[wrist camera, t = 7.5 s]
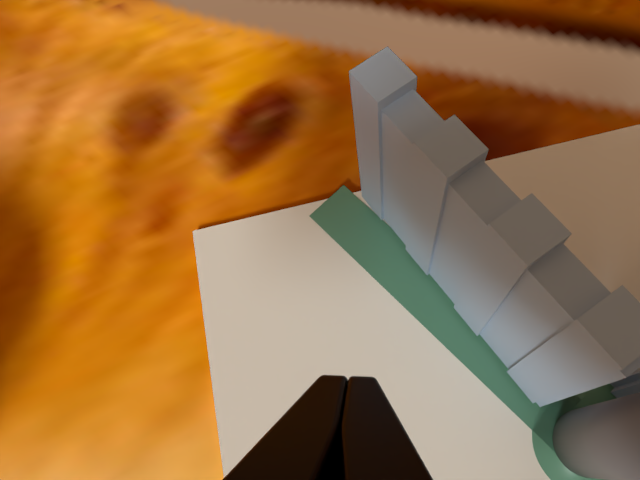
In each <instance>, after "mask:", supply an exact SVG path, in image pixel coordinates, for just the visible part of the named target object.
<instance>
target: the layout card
mask: <svg viewBox="0 0 640 480" xmlns="http://www.w3.org/2000/svg"><path fill="white" fill-rule="evenodd" d="M485 163H486V164H487V165H488V166H489V167H490V168H491V169H492V171H493V172H494V173H495V174H496V175H497V176H498V177H499V178H500V179H501V180H502V181H503V182H504V183H505V184H506V185H507V186H508V187H509V188H510V189H511V190H512V191H513V192H514V193H515V194H516V195H517V196H518V197H519V198H520V199H521V200H523V199H524V198H526V197H527V196H528V195H530V194H531V193H532V194H533V195H534V196H535V197H536V198H537V199H538V200H539V201H540V202H541V203H542V204H543V205H544V206H545V207H546V208H547V209H548V210H549V211H550V212H551V213H552V214H553V215H554V216H555V217H556V218H557V219H558V220H559V221H560V222H561V223H562V224H563V225H564V226H565V227H566V228H567V229H568V230H569V231H570V232H571V233H572V234H571V235H570V236H569V238H568V239H567V240H566V241H565V243H564V245H565V246H566V247H567V248H568V249H569V250H570V251H571V252H572V253H573V254H574V255H575V256H576V257H577V258H578V259H579V260H580V261H581V262H582V263H583V265H584V266H585V267H586V268H587V269H588V270H589V271H590V272H591V273H592V274H593V275H594V276H595V277H596V278H597V279H598V280H599V281H600V282H601V283H602V284H603V285H604V286H605V287H606V288H607V289H608V290H609V291H610V292H611V293H612V292H613V291H615V290H616V289H618V288H619V287H620V286H622V285H623V286H624V287H625V288H626V289H627V290H628V291H629V292H630V293H631V294H632V295H633V296H634V297H635V298H636V299H637V300H638V301H639V302H640V124H638V125H634V126H630V127H626V128H622V129H618V130H613V131H609V132H605V133H601V134H597V135H592V136H588V137H584V138H580V139H576V140H571V141H567V142H563V143H559V144H555V145H551V146H546V147H542V148H538V149H534V150H530V151H525V152H521V153H517V154H513V155H509V156H504V157H500V158H496V159H492V160H488V161H485ZM193 238H194V246H195V254H196V262H197V270H198V277H199V285H200V293H201V301H202V309H203V317H204V325H205V332H206V340H207V348H208V356H209V364H210V372H211V380H212V387H213V395H214V403H215V411H216V419H217V427H218V435H219V443H220V450H221V458H222V466H223V474H224V478H225V476H226V475H227V474H228V473H229V472H230V471H231V470H232V469H233V468H234V467H235V466H236V465H237V464H238V463H239V462H240V460H241V459H242V458H243V457H244V456H245V455H246V454H247V453H248V452H249V451H250V450H251V449H252V448H253V447H254V446H255V445H256V443H257V442H258V441H259V440H260V439H261V438H262V437H263V436H264V435H265V434H266V433H267V432H268V431H269V430H270V429H271V427H272V426H273V425H274V424H275V423H276V422H277V421H278V420H279V419H280V418H281V417H282V416H283V415H284V414H285V413H286V412H287V410H288V409H289V408H290V407H291V406H292V405H293V404H294V403H295V402H296V401H297V400H298V399H299V398H300V397H301V396H302V395H303V393H304V392H305V391H306V390H307V389H308V388H309V387H310V386H311V385H312V384H313V383H314V382H315V381H316V380H317V379H318V377H320V376H321V375H342V376H345V377H347V379H349V378H350V377H351V376H367V377H374V378H376V380H377V381H378V383H379V384H380V386H381V388H382V390H383V392H384V393H385V395H386V397H387V399H388V400H389V402H390V404H391V406H392V408H393V409H394V411H395V413H396V415H397V416H398V418H399V420H400V422H401V423H402V425H403V427H404V429H405V431H406V432H407V434H408V436H409V438H410V439H411V441H412V443H413V445H414V446H415V448H416V450H417V452H418V454H419V455H420V457H421V459H422V461H423V462H424V464H425V466H426V468H427V470H428V471H429V473H430V475H431V477H432V478H433V480H604V479H594V478H586V477H582V476H579V475H577V474H575V473H573V472H572V471H570V470H569V469H568V468H566V467H565V466H564V465H563V464H562V462H561V461H560V460H559V458H558V456H557V455H556V452H555V450H554V446H553V438H552V436H553V430H554V427H555V424H556V422H557V421H558V420H559V418H560V417H561V416H562V415H564V414H565V413H566V412H569V411H571V410H574V409H578V408H582V407H586V406H589V405H593V404H597V403H601V402H605V401H608V400H612V399H616V397H615V396H614V395H613V394H612V393H611V391H612V390H613V389H614V387H613V386H612V385H611V384H610V383H609V384H606V385H603V386H601V387H598V388H595V389H592V390H589V391H586V392H583V393H580V394H577V395H574V396H571V397H568V398H565V399H562V400H559V401H556V402H553V403H550V404H547V405H544V406H541V407H539V405H538V404H537V403H536V402H535V403H532V402H531V401H530V399H529V398H528V397H527V396H526V395H525V393H524V392H523V391H522V390H521V389H520V387H519V386H518V385H517V384H516V383H515V381H514V380H513V379H512V378H511V376H510V375H509V374H508V373H507V372H506V371H508V370H509V369H508V368H507V367H506V366H505V364H504V363H503V362H502V361H501V360H500V358H499V357H498V356H497V355H496V354H495V352H494V351H493V350H492V349H491V348H490V346H489V345H488V344H487V343H486V342H485V340H484V339H483V338H482V337H481V335H480V334H479V335H478V336H477V335H476V334H475V333H474V332H473V330H472V329H471V328H470V327H469V326H468V324H467V323H466V322H465V321H464V320H463V318H462V317H461V316H460V315H459V314H458V312H457V311H456V310H455V309H454V305H455V304H454V303H453V302H452V300H451V299H450V298H449V297H448V296H447V294H446V293H445V292H444V291H443V290H442V288H441V287H440V286H439V285H438V284H437V282H436V281H435V280H434V279H433V278H432V276H431V275H430V274H428V275H426V274H425V272H424V271H423V270H422V269H421V268H420V266H419V265H418V264H417V263H416V261H415V260H414V259H413V258H412V257H411V255H410V254H409V253H408V252H407V251H406V245H405V244H404V243H403V241H402V240H401V239H400V238H399V237H398V235H397V234H396V233H395V232H394V231H393V229H392V228H391V227H390V226H389V225H388V223H387V222H386V221H385V220H384V219H383V220H381V219H380V218H379V217H378V215H377V214H376V213H375V212H374V211H373V209H372V208H371V207H370V206H369V205H368V203H367V202H366V201H365V200H364V198H363V197H362V192H361V191H358V192H354V193H352V192H351V191H350V190H349V189H348V188H347V187H346V186H344V185H343V186H342V187H341V188H340V189H339V190H337V191H336V192H335V193H334V194H333V195H332V196H331V197H330V198H328V199H324V200H320V201H316V202H312V203H308V204H303V205H299V206H295V207H291V208H287V209H282V210H278V211H274V212H270V213H266V214H261V215H257V216H253V217H249V218H245V219H241V220H236V221H232V222H228V223H224V224H220V225H215V226H211V227H207V228H203V229H199V230H194V231H193Z"/></svg>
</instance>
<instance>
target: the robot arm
mask: <svg viewBox="0 0 640 480" xmlns="http://www.w3.org/2000/svg"><path fill="white" fill-rule="evenodd" d="M223 480H433V478H432V477H431V475H430V473H429V471H428V470H427V468H426V466H425V464H424V462H423V461H422V459H421V457H420V455H419V454H418V452H417V450H416V448H415V446H414V445H413V443H412V441H411V439H410V438H409V436H408V434H407V432H406V431H405V429H404V427H403V425H402V423H401V422H400V420H399V418H398V416H397V415H396V413H395V411H394V409H393V408H392V406H391V404H390V402H389V400H388V399H387V397H386V395H385V393H384V392H383V390H382V388H381V386H380V384H379V383H378V381H377V380H376V378H374V377H367V376H351V377H350V378H349V379H347V377H345V376H342V375H321V376H320V377H318V379H317V380H316V381H315V382H314V383H313V384H312V385H311V386H310V387H309V388H308V389H307V390H306V391H305V392H304V393H303V395H302V396H301V397H300V398H299V399H298V400H297V401H296V402H295V403H294V404H293V405H292V406H291V407H290V408H289V409H288V410H287V412H286V413H285V414H284V415H283V416H282V417H281V418H280V419H279V420H278V421H277V422H276V423H275V424H274V425H273V426H272V427H271V429H270V430H269V431H268V432H267V433H266V434H265V435H264V436H263V437H262V438H261V439H260V440H259V441H258V442H257V443H256V445H255V446H254V447H253V448H252V449H251V450H250V451H249V452H248V453H247V454H246V455H245V456H244V457H243V458H242V459H241V460H240V462H239V463H238V464H237V465H236V466H235V467H234V468H233V469H232V470H231V471H230V472H229V473H228V474H227V475H226V476H225V478H224V479H223Z"/></svg>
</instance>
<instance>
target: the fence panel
mask: <svg viewBox="0 0 640 480" xmlns="http://www.w3.org/2000/svg"><path fill="white" fill-rule="evenodd" d="M349 78H350V87H351V97H352V106H353V116H354V125H355V135H356V144H357V154H358V163H359V173H360V182H361V192H362V197H363V198H364V200H365V201H366V202H367V203H368V205H369V206H370V207H371V208H372V209H373V211H374V212H375V213H376V214H377V215H378V217H379V218H380V219H381V220H383V219H384V220H385V221H386V222H387V223H388V225H389V226H390V227H391V228H392V229H393V231H394V232H395V233H396V234H397V235H398V237H399V238H400V239H401V240H402V241H403V243H404V244H405V245H406V251H407V252H408V253H409V254H410V255H411V257H412V258H413V259H414V260H415V261H416V263H417V264H418V265H419V266H420V268H421V269H422V270H423V271H424V272H425V274H426V275H428V274H430V275H431V276H432V278H433V279H434V280H435V281H436V282H437V284H438V285H439V286H440V287H441V288H442V290H443V291H444V292H445V293H446V294H447V296H448V297H449V298H450V299H451V300H452V302H453V303H454V304H455V305H454V309H455V310H456V311H457V312H458V314H459V315H460V316H461V317H462V318H463V320H464V321H465V322H466V323H467V324H468V326H469V327H470V328H471V329H472V330H473V332H474V333H475V334H476V335H477V336H478V335H479V334H480V335H481V337H482V338H483V339H484V340H485V342H486V343H487V344H488V345H489V346H490V348H491V349H492V350H493V351H494V352H495V354H496V355H497V356H498V357H499V358H500V360H501V361H502V362H503V363H504V364H505V366H506V367H507V368H508V369H509V370H508V371H506V372H507V373H508V374H509V375H510V376H511V378H512V379H513V380H514V381H515V383H516V384H517V385H518V386H519V387H520V389H521V390H522V391H523V392H524V393H525V395H526V396H527V397H528V398H529V399H530V401H531V402H532V403H535V402H536V403H537V404H538V405H539V407H541V406H544V405H547V404H550V403H553V402H556V401H559V400H562V399H565V398H568V397H571V396H574V395H577V394H580V393H583V392H586V391H589V390H592V389H595V388H598V387H601V386H603V385H606V384H609V383H612V382H615V381H618V380H621V379H624V378H627V377H628V376H629V375H631V374H632V373H633V372H634V371H636V370H637V369H638V368H639V367H640V302H639V301H638V300H637V299H636V298H635V297H634V296H633V295H632V294H631V293H630V292H629V291H628V290H627V289H626V288H625V287H624V286H623V285H622V286H620V287H619V288H618V289H616V290H615V291H613V292H612V293H611V292H610V291H609V290H608V289H607V288H606V287H605V286H604V285H603V284H602V283H601V282H600V281H599V280H598V279H597V278H596V277H595V276H594V275H593V274H592V273H591V272H590V271H589V270H588V269H587V268H586V267H585V266H584V265H583V263H582V262H581V261H580V260H579V259H578V258H577V257H576V256H575V255H574V254H573V253H572V252H571V251H570V250H569V249H568V248H567V247H566V246H565V245H564V243H565V241H566V240H567V239H568V238H569V236H570V235H571V234H572V233H571V232H570V231H569V230H568V229H567V228H566V227H565V226H564V225H563V224H562V223H561V222H560V221H559V220H558V219H557V218H556V217H555V216H554V215H553V214H552V213H551V212H550V211H549V210H548V209H547V208H546V207H545V206H544V205H543V204H542V203H541V202H540V201H539V200H538V199H537V198H536V197H535V196H534V195H533V194H532V193H531V194H530V195H528V196H527V197H526V198H524V199H523V200H521V199H520V198H519V197H518V196H517V195H516V194H515V193H514V192H513V191H512V190H511V189H510V188H509V187H508V186H507V185H506V184H505V183H504V182H503V181H502V180H501V179H500V178H499V177H498V176H497V175H496V174H495V173H494V172H493V171H492V169H491V168H490V167H489V166H488V165H487V164H486V163H485V159H486V156H487V153H488V150H489V149H488V148H487V147H486V146H485V145H484V144H483V143H482V142H481V141H480V140H479V139H478V138H477V137H476V136H475V135H474V134H473V133H472V132H471V131H470V130H469V129H468V128H467V127H466V126H465V125H464V124H463V122H462V121H461V120H460V119H459V118H458V117H457V116H456V115H455V114H454V115H453V116H451V117H450V118H448V119H447V120H445V121H444V120H443V119H442V118H441V117H440V116H439V115H438V114H437V113H436V112H435V111H434V110H433V109H432V108H431V106H430V105H429V104H428V103H427V102H426V101H425V100H424V99H423V98H422V97H421V96H420V95H419V94H418V93H417V92H416V86H417V76H416V75H415V74H414V73H413V72H412V71H411V70H410V69H409V68H408V67H407V66H406V65H405V64H404V63H403V62H402V61H401V59H400V58H399V57H398V56H397V55H396V54H395V53H394V52H393V51H392V50H391V49H390V48H389V47H388V46H387V47H385V48H384V49H382V50H381V51H379V52H378V53H376V54H375V55H373V56H372V57H370V58H368V59H367V60H365V61H364V62H362V63H361V64H359V65H358V66H356V67H355V68H353V69H351V70H350V71H349Z"/></svg>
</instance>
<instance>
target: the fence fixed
mask: <svg viewBox="0 0 640 480" xmlns="http://www.w3.org/2000/svg"><path fill="white" fill-rule="evenodd" d="M610 384H611V385H612V386H613V387H614V389H613V390H612V391H611V393H612V394H613V395H614V396H615V397H616V399H612V400H608V401H605V402H601V403H597V404H593V405H589V406H586V407H582V408H578V409H574V410H571V411H569V412H566V413H565V414H564V415H562V416H561V417H560V418H559V420H558V421H557V422H556V424H555V427H554V430H553V436H552V438H553V446H554V450H555V452H556V455H557V456H558V458H559V460H560V461H561V462H562V464H563V465H564V466H565V467H566V468H568V469H569V470H570V471H572V472H573V473H575V474H577V475H579V476H582V477H586V478H594V479H604V480H640V367H639V368H638V369H637V370H636V371H634V372H633V373H632V374H631V375H629V376H628V377H627V378H624V379H621V380H618V381H615V382H612V383H610Z"/></svg>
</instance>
